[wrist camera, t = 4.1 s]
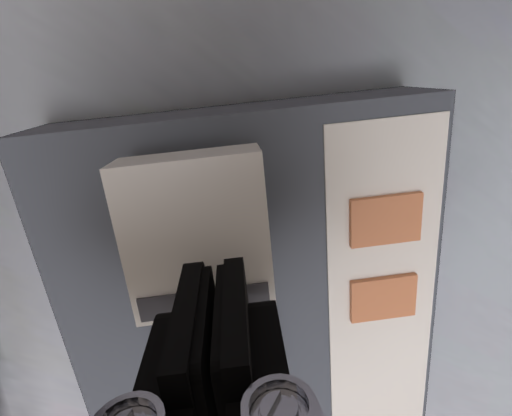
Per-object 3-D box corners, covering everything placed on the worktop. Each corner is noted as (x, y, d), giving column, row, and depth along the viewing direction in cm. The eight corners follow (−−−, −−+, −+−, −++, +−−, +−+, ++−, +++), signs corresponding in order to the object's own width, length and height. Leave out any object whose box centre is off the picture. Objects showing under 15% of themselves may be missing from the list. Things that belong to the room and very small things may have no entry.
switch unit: (403, 86, 17) (473, 91, 12) (389, 397, 23) (430, 478, 19) (47, 124, 16) (-27, 144, 11) (137, 434, 23) (115, 527, 18)
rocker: (256, 142, 12) (262, 151, 10) (270, 280, 13) (277, 309, 11) (117, 158, 11) (98, 170, 10) (148, 296, 13) (135, 328, 11)
